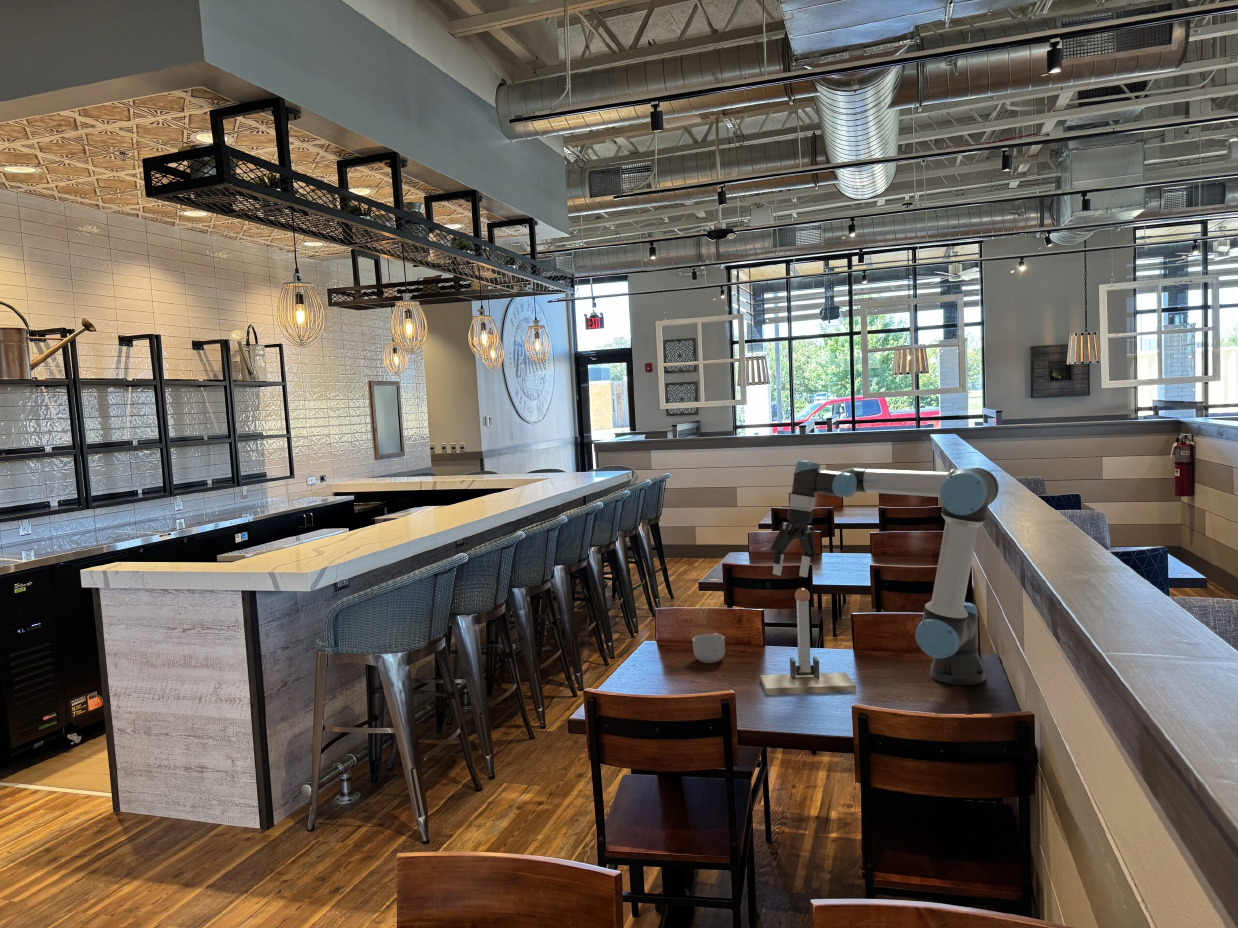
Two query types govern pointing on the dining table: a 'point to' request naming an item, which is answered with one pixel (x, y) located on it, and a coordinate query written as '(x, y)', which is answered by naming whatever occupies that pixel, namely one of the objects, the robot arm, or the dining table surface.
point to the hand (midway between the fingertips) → (790, 575)
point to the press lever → (803, 633)
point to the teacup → (709, 647)
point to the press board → (807, 682)
